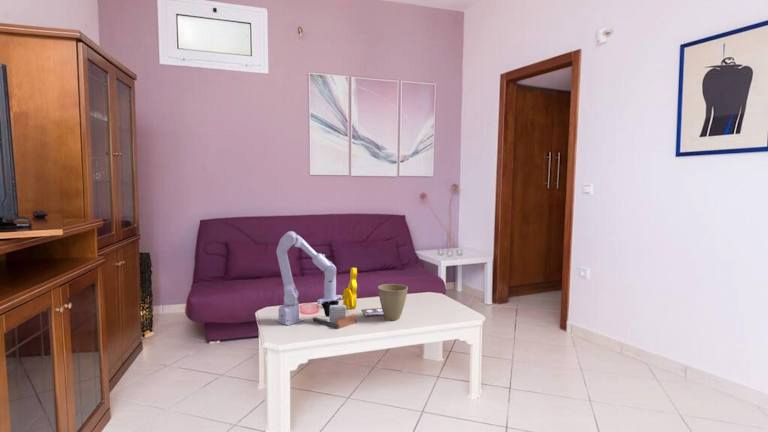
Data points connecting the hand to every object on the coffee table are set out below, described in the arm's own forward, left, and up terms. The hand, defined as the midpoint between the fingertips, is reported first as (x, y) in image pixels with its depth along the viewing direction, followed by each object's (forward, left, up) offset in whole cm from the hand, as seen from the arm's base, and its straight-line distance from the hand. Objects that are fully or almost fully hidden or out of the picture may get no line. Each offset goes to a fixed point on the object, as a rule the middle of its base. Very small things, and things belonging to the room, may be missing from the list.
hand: (329, 315), depth 216 cm
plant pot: (+24, -20, -3) cm, 32 cm away
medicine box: (-1, -7, -3) cm, 7 cm away
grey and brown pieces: (0, -3, -2) cm, 4 cm away
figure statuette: (+22, +9, -3) cm, 24 cm away
